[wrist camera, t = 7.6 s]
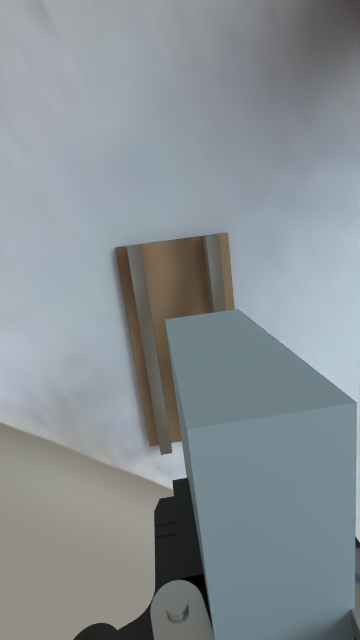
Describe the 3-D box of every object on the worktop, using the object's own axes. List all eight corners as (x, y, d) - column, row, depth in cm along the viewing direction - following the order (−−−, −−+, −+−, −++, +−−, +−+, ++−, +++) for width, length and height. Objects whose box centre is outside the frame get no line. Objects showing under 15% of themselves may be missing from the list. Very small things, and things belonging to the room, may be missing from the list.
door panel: (237, 309, 14) (357, 402, 6) (256, 543, 16) (352, 812, 9) (165, 319, 13) (187, 429, 6) (197, 554, 16) (241, 839, 9)
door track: (224, 233, 27) (232, 232, 25) (242, 424, 32) (249, 439, 29) (116, 247, 27) (113, 248, 25) (149, 440, 31) (149, 456, 29)
